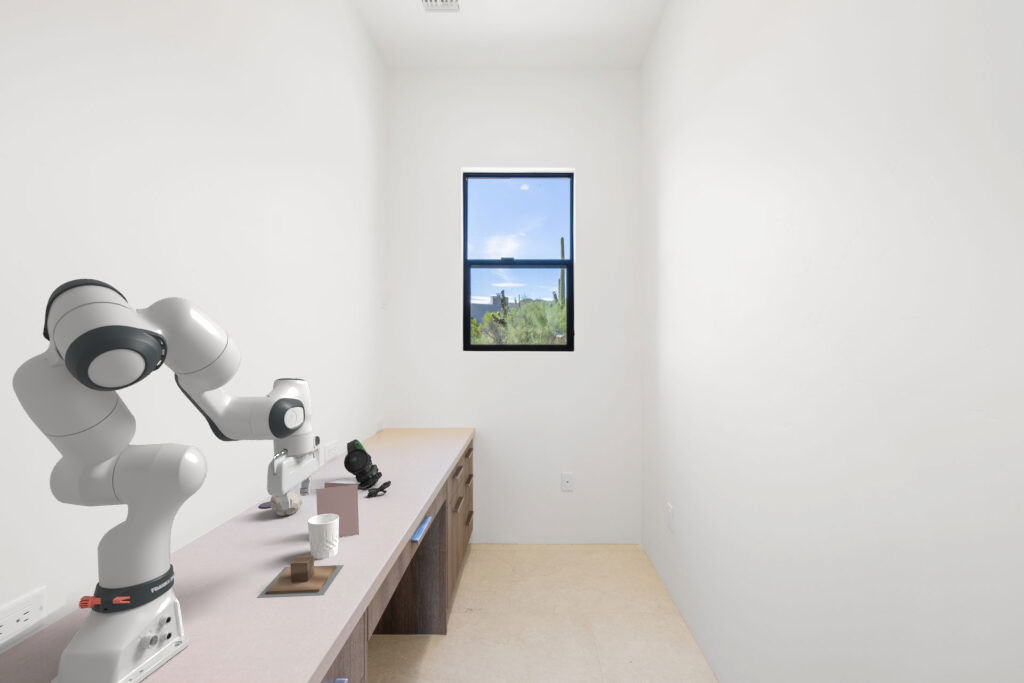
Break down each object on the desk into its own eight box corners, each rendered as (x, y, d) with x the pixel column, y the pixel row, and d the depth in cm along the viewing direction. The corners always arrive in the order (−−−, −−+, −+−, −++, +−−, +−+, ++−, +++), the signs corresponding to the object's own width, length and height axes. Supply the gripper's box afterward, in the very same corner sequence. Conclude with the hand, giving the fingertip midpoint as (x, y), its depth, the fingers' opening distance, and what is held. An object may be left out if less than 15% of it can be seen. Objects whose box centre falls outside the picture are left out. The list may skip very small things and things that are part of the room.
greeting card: (360, 533, 151) (359, 483, 151) (346, 543, 144) (344, 490, 144) (327, 530, 154) (326, 481, 154) (311, 539, 147) (310, 488, 147)
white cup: (329, 562, 132) (328, 524, 132) (302, 561, 133) (301, 523, 133) (345, 550, 139) (344, 514, 139) (319, 548, 141) (318, 512, 141)
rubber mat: (323, 597, 114) (323, 595, 114) (256, 599, 114) (256, 597, 114) (344, 566, 129) (343, 564, 129) (284, 569, 129) (284, 567, 129)
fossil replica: (296, 506, 179) (266, 515, 172) (293, 483, 178) (263, 491, 172) (308, 511, 169) (277, 522, 163) (305, 487, 169) (273, 496, 163)
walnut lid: (319, 591, 115) (318, 569, 115) (266, 594, 115) (265, 571, 115) (336, 567, 127) (335, 547, 127) (288, 569, 127) (287, 549, 127)
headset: (368, 516, 189) (358, 465, 213) (401, 498, 192) (387, 449, 215) (345, 488, 179) (337, 438, 202) (380, 470, 181) (368, 422, 204)
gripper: (286, 455, 111) (288, 517, 111) (323, 435, 131) (325, 487, 132) (257, 456, 111) (260, 518, 111) (299, 435, 131) (302, 488, 132)
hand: (296, 501), depth 122 cm, fingers open, 8 cm apart
